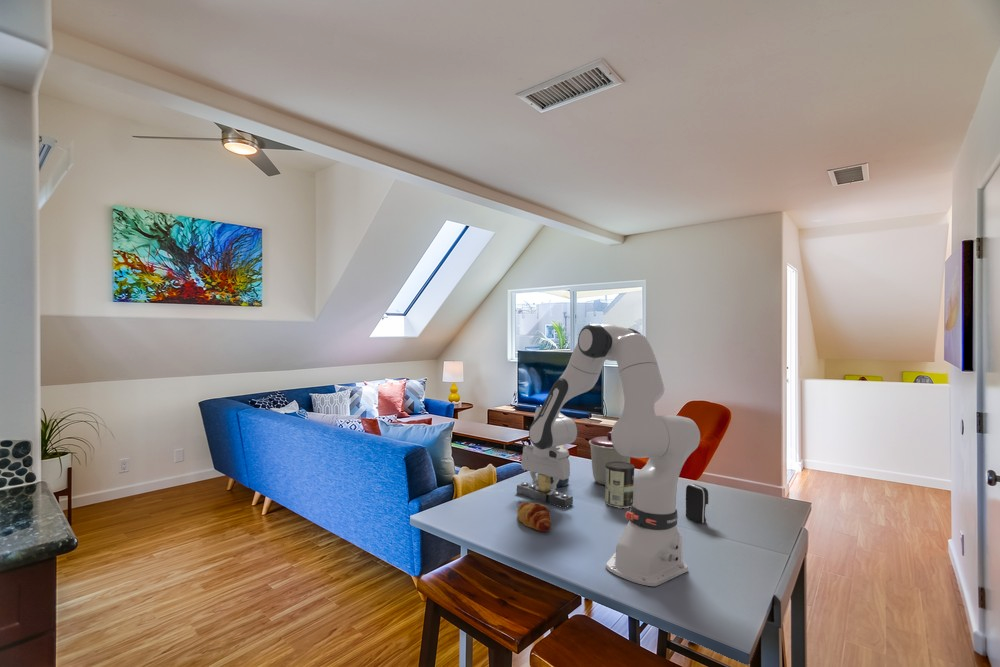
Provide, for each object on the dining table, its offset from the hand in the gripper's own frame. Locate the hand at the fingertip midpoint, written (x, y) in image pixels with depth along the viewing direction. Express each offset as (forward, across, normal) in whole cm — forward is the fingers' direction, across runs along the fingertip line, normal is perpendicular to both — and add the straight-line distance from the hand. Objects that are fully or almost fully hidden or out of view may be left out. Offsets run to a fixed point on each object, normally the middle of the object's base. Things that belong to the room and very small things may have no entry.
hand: (544, 486), depth 176 cm
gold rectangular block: (+5, 0, 0) cm, 5 cm away
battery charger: (+5, +48, +21) cm, 53 cm away
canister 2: (+5, +7, +36) cm, 37 cm away
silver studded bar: (+5, 0, 0) cm, 5 cm away
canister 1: (+5, -9, +18) cm, 21 cm away
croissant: (+5, +11, -20) cm, 23 cm away
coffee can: (+5, +22, +16) cm, 28 cm away
